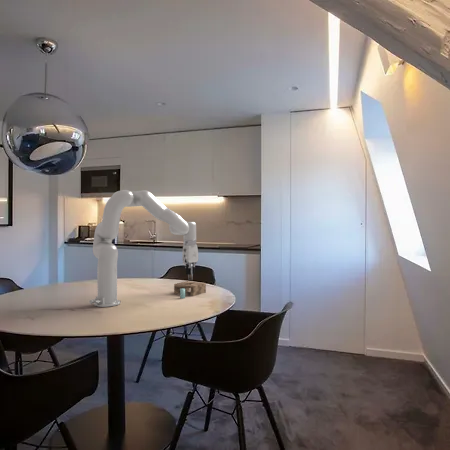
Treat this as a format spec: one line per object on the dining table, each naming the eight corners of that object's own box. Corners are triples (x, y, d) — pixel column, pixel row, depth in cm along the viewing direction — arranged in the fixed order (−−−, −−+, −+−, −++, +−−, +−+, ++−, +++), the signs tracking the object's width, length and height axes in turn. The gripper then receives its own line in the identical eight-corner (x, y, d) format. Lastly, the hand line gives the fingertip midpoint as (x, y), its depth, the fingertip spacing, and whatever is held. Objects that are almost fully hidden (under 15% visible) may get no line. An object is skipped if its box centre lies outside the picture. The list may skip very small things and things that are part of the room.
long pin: (190, 280, 209) (190, 260, 209) (187, 280, 210) (187, 259, 210) (193, 280, 211) (193, 259, 211) (190, 279, 213) (189, 259, 212)
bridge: (193, 296, 202) (193, 286, 202) (174, 293, 209) (174, 284, 209) (205, 292, 212) (205, 283, 212) (187, 290, 220) (187, 281, 219)
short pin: (183, 298, 195) (183, 289, 195) (179, 298, 197) (179, 289, 197) (186, 297, 197) (186, 288, 197) (182, 297, 199) (182, 288, 199)
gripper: (186, 244, 202) (186, 276, 202) (203, 242, 215) (203, 272, 216) (175, 243, 206) (176, 275, 206) (193, 241, 219) (193, 272, 220)
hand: (190, 274), depth 211 cm, fingers closed on long pin, 2 cm apart
